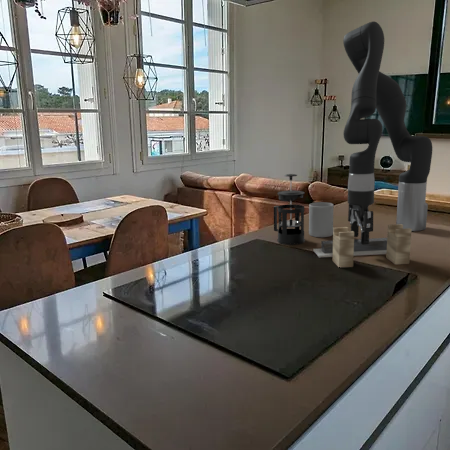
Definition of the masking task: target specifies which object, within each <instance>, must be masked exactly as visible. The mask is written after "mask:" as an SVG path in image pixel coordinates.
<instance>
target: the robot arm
mask: <svg viewBox="0 0 450 450" xmlns="http://www.w3.org/2000/svg"><path fill="white" fill-rule="evenodd" d="M342 41H343V47H344V51H345V53H346V55H347V56H348V59H349V61H350V62H351V64H352V66H353V67H354V69H355V70H356V72H357V74H358V75H357V77H356V79H354V80H355V81H354V82H353V86H352V90H351V102H350V105H351V106H350V111H349V116H348V118H347V121H346V123H345V125H344V129H343V139H344V141H345V142H346V143H347V144H349V145H368V146H367V148H366V149H364V150H362V151H357V152H354V153H351V154H350V156H349V165H348V166H349V167H348V168H349V170H348V180H347V204H348V214H347V222H349V225H350V231H353V232H354V238H358V237H359V228H360V239H361V244H362V245H366V244H369V239H370V233H372V232H373V231H374V211H373V210H369V206H370V205H373V204H374V202H375V184H376V183H375V182H376V181H375V162H376V153H377V150H378V149H377V148H378V146H379V143H380V140H381V137H382V133H383V125H384V127H385V129H386V132H387V133H388V136H389V140H390V142H391V145H392V147H393V150H394V151H393V152H395V155H396V157H397V158H398V160H399V161H401V162H404V163H410V166H409V168H408V170H406V171H403V172H401V173H400V174H399V175H398V190H397V207H396V222H395V224H402V225H403V229H407V228H410V229H412V230H411V232H420V231H423V230H427V219H428V218H427V217H428V206H429V204H428V203H427V202H426V201H427V200H426V197H427V184H428V177H429V174H430V172H431V164H432V158H433V143H432V139H430V138H429V137H428V136H426V135H425V136H424V135H423V136H422V135H411V134H410V132H409V131H408V129H407V127H406V124H405V115H406V111H407V100H406V96H404V93H403V91H402V88H401V87H400V84H398V82H397V81H396V80H395V79H393V78H392V77H390V76H388V75H387V74H385V73H384V72H382V71H380V68H381V66H382V65H381V64H382V59H383V55H384V48H385V34H384V31H383V28H382V26H381V25H380V24H379V23H378V22H376V21H370V22H367V23H365V24H362V25H360V26H359V27H356V28H355V29H353V30H351V31H349V32H347V33H346V34H345V35H344V36H343V40H342ZM376 111H377V113H378V115H379V116H380V118H381V121H382V122H381V121H380V120H379V119H377V118H368V117H370V116H372V115H374V114H375V112H376ZM382 123H383V124H382Z"/></svg>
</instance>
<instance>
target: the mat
mask: <svg viewBox="0 0 450 450" xmlns="http://www.w3.org/2000/svg"><path fill="white" fill-rule="evenodd" d="M312 249H313V250H312V251H313V252H314V253H315V255H317V257H318V258H333V253H323V252H322V251H321V248H312ZM386 253H387V250H376V251H358V252H354V255H353V257H358V256H370V255H371V256H372V255H373V256H374V255H386Z"/></svg>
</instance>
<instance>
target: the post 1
mask: <svg viewBox="0 0 450 450" xmlns="http://www.w3.org/2000/svg"><path fill="white" fill-rule="evenodd" d="M354 239H355V237H354V232H353V231H351V230H350V231H349V227H348V226H339V227H337V226H336V227H333V235H332V241H333V257H332V262H333V264H335V265H336V266H337V267H338V268H339V267H340V268H353V267H354V256H353V255H354Z"/></svg>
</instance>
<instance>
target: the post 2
mask: <svg viewBox="0 0 450 450" xmlns="http://www.w3.org/2000/svg"><path fill="white" fill-rule="evenodd" d="M411 230H412V229H410V228H407V229H403V225H402V224H396V223H395V224H388V225H387V234H386V235H387V236H386V238H387V253H386V254H385V255H386V259H387V260H388V261H390V262H392V263H393V264H394V265H410V258H411V257H410V256H411V243H412V242H411V241H412V231H411Z"/></svg>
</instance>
